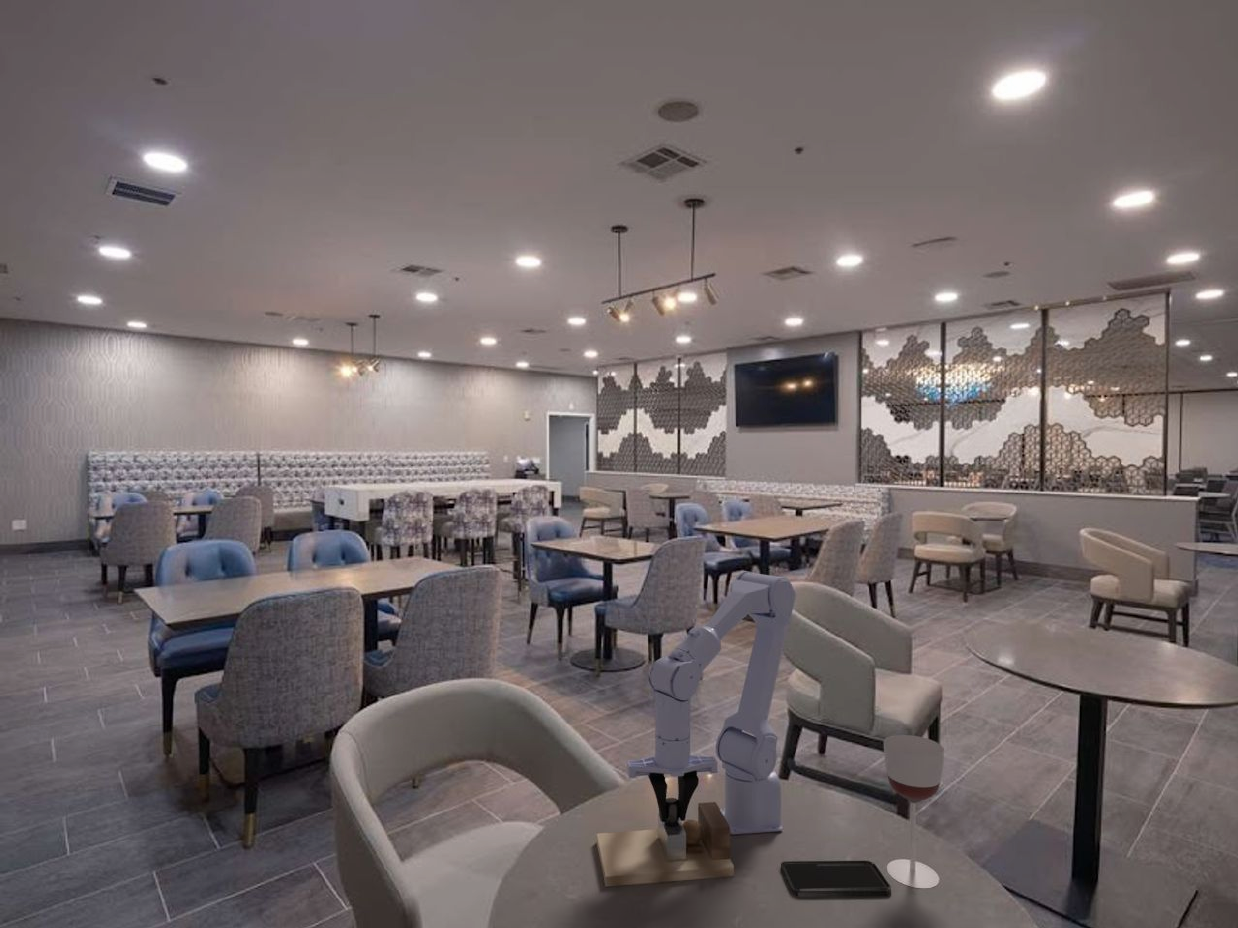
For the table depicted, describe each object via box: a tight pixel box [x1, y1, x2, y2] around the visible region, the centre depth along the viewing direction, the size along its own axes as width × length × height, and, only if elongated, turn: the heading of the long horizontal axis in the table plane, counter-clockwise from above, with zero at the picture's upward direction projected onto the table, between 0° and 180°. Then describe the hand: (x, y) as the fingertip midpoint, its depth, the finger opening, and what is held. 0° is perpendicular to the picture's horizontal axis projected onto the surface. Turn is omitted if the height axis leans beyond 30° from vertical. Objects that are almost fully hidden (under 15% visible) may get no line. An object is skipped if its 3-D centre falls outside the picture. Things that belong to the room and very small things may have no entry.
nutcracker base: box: [596, 801, 735, 888], centre depth 108 cm, size 20×12×6 cm, turn 98°
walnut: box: [682, 819, 703, 845], centre depth 109 cm, size 4×4×4 cm
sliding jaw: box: [657, 797, 686, 861], centre depth 108 cm, size 3×7×8 cm, turn 8°
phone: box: [780, 860, 892, 898], centre depth 103 cm, size 8×1×15 cm
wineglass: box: [883, 734, 945, 889], centre depth 105 cm, size 8×9×20 cm
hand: (672, 818), depth 108 cm, fingers open, 2 cm apart
